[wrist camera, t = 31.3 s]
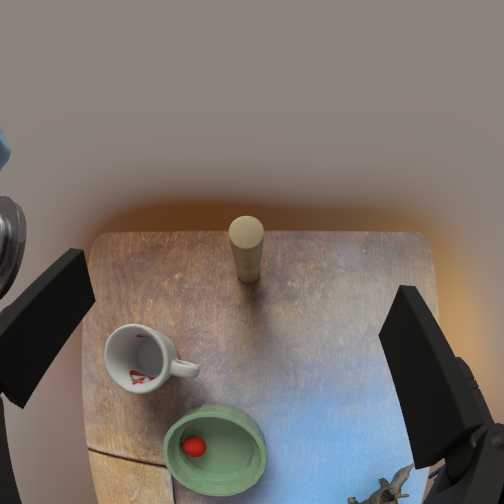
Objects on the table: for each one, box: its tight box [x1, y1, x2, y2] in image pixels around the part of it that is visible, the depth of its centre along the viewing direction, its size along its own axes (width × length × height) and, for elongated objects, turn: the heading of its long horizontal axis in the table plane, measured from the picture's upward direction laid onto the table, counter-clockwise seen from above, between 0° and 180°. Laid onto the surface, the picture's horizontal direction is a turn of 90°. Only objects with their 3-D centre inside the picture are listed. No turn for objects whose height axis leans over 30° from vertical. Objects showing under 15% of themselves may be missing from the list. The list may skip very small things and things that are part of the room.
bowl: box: [162, 404, 267, 497], centre depth 29 cm, size 12×12×6 cm
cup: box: [104, 324, 200, 394], centre depth 31 cm, size 11×8×8 cm
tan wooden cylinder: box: [229, 216, 264, 283], centre depth 32 cm, size 3×3×15 cm
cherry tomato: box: [183, 436, 206, 457], centre depth 30 cm, size 3×3×3 cm
